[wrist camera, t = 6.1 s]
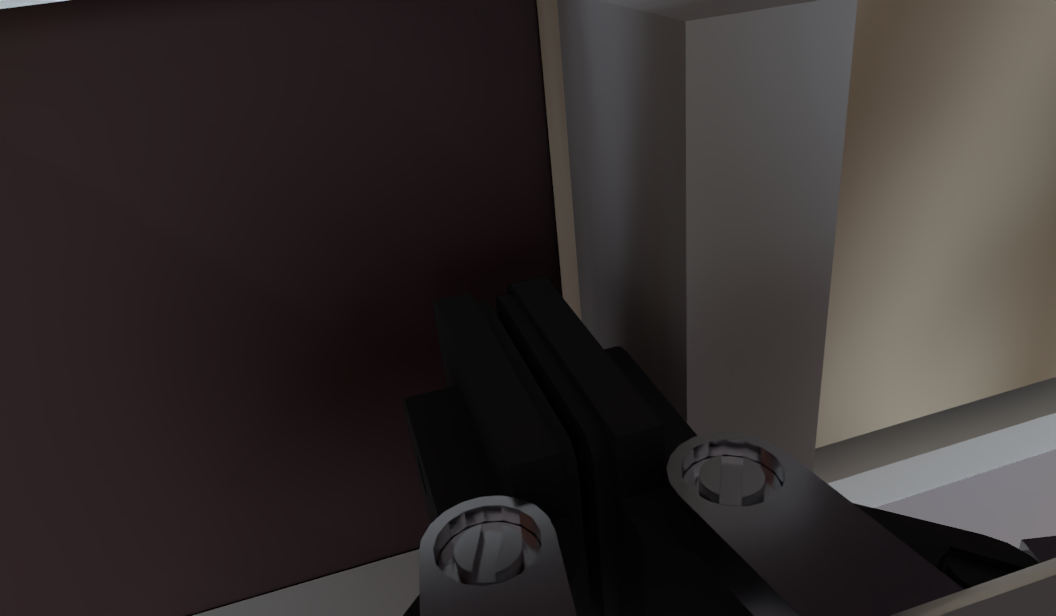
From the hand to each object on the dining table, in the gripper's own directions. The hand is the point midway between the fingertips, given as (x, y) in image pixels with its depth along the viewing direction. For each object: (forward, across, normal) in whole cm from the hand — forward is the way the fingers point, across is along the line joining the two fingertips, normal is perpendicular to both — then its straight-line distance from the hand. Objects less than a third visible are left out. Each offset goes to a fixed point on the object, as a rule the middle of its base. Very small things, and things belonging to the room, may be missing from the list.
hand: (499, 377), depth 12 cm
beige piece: (+3, -14, 0) cm, 14 cm away
